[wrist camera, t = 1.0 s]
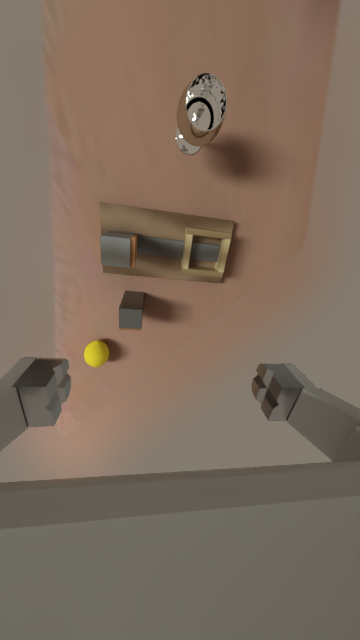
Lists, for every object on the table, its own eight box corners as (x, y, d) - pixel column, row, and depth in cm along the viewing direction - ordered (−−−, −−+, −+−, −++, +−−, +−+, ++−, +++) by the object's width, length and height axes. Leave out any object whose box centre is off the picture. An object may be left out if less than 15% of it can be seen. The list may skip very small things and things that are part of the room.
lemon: (88, 334, 48) (81, 344, 43) (112, 336, 49) (107, 347, 44) (87, 360, 51) (80, 372, 46) (110, 361, 52) (105, 374, 47)
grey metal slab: (125, 290, 44) (118, 308, 36) (144, 292, 44) (142, 310, 37) (125, 310, 46) (119, 331, 38) (143, 311, 47) (141, 332, 39)
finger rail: (101, 202, 36) (81, 199, 26) (231, 220, 40) (258, 224, 30) (104, 270, 41) (89, 289, 31) (218, 280, 45) (237, 301, 35)
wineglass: (212, 147, 34) (239, 118, 23) (182, 167, 35) (195, 148, 24) (197, 104, 31) (219, 50, 21) (164, 127, 32) (170, 86, 22)
